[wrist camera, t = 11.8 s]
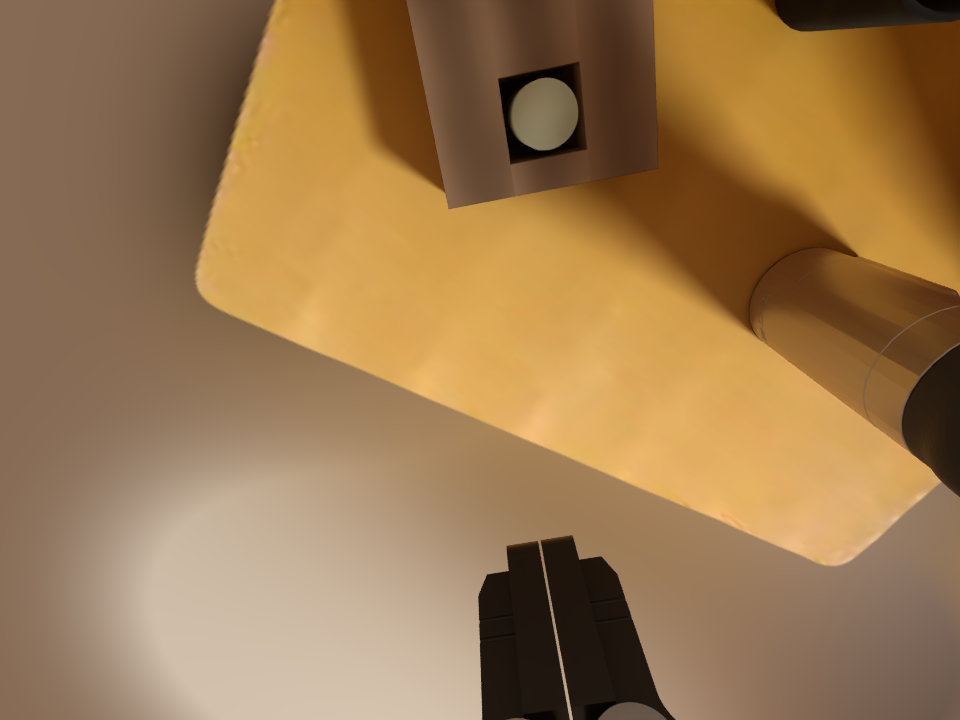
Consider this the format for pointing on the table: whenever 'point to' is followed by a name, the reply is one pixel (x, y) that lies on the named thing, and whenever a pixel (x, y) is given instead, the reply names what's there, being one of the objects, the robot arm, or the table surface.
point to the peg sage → (542, 114)
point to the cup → (864, 13)
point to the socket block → (526, 52)
